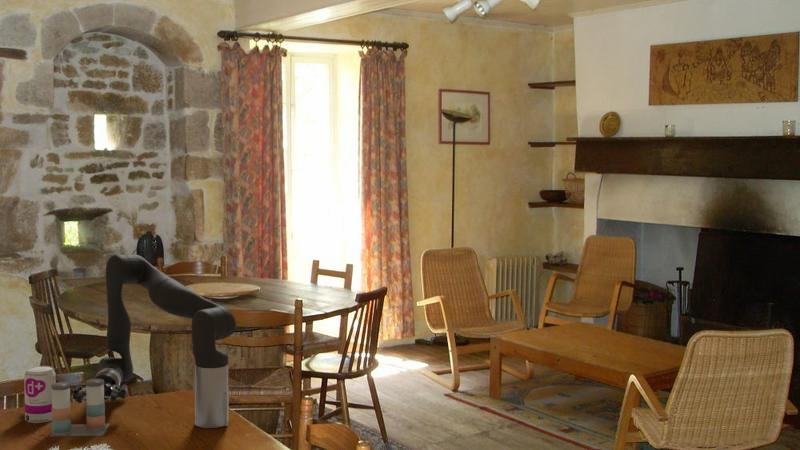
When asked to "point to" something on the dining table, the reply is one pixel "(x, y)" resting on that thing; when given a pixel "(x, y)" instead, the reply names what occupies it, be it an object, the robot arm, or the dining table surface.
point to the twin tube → (61, 408)
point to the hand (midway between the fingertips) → (95, 399)
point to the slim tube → (95, 404)
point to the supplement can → (38, 393)
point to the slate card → (83, 431)
